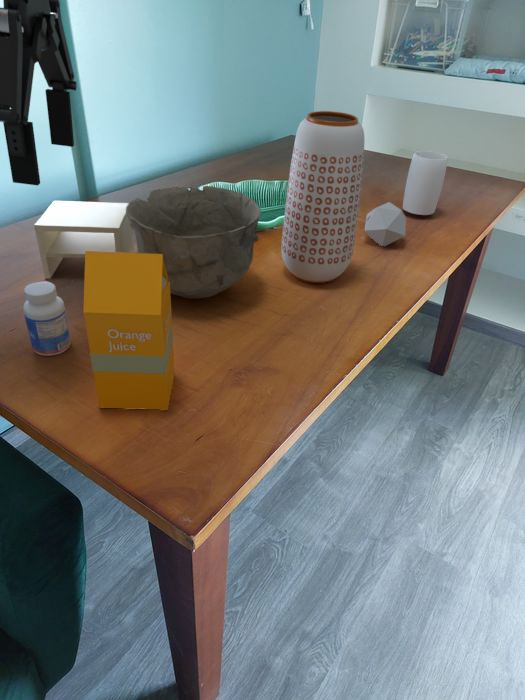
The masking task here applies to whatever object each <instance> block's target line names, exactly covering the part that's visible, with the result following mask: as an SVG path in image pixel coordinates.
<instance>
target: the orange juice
mask: <svg viewBox="0 0 525 700" xmlns="http://www.w3.org/2000/svg"><path fill="white" fill-rule="evenodd" d="M83 279H84V281H83V283H84V284H83V287H84V288H83V310H82V311H83V318H84V323H85V329H86V335H87V343H88V348H89V358H90V364H91V369H92V373H93V379H94V384H95V391H96V396H97V397H96V398H97V403H98V408H99V407H100V408H102V407H103V408H137V409H138V408H145V409H164V410H165V409H166V410H168V411H169V407H168V406H170V402H169V401H171V397H170V395H171V396H172V391H173V386H172V385H174V381H173V380H175V376H174V375H176V373H175V353H174V331H173V330H174V329H173V327H174V326H173V315H172V300H171V298H172V296H171V293H170V282H169V280H168V276H167V272H166V267H165V263H164V259H163V254H149V253H138V252H135V253H124V252H100V251H85V258H84V278H83ZM171 390H172V391H171ZM164 410H163V411H164Z"/></svg>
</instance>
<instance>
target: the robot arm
mask: <svg viewBox="0 0 525 700" xmlns="http://www.w3.org/2000/svg"><path fill="white" fill-rule="evenodd" d="M2 3H3V7H0V123H2V124H3V129H4V137H5V142H6V148H7V154H8V155H7V156H8V160H9V165H10V166H9V167H10V173H11V179H12V183H13V184H23V185H30V186H39V185H40V184H41V177H40V170H39V162H38V154H37V146H36V138H35V132H34V131H35V130H34V123H33V121H29V117H30V116H29V114H30V108H31V106H30V105H31V98H32V91H33V82H34V74H35V65H36V63H38V66H39V68H40V70H41V72H42V75H43V77H44V79H45V82H46V84H47V86H48V88H46V89H45V99H46V108H47V109H46V110H47V117H48V128H49V136H50V144H51V145H56V146H62V147H70V148H73V147H74V146H75V140H74V139H75V138H74V128H73V117H72V115H73V113H72V104H71V103H72V102H71V93H70V91H74V92H76V91H77V88H78V87H77V86H78V84H77V81H76V80H74V79H75V73H74V69H73V65H72V59H71V56H70V51H69V46H68V42H67V37H66V33H65V30H64V29H65V28H64V24H63V21H62V20H63V19H62V12H61V2H60V0H3V2H2Z"/></svg>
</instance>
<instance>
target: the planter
mask: <svg viewBox="0 0 525 700" xmlns="http://www.w3.org/2000/svg"><path fill="white" fill-rule="evenodd" d="M364 131H365V130H364V127H363V125H362V124H361V123H360V122H359V118H358V117H357V116H355V115H354V114H351V113H346V112H340V111H333V110H332V111H331V110H330V111H329V110H317V111H312V112H309V113H307V115H306V117H305V118H303V120H302V121H300V123H299V125H298V127H297V130H296V133H295V139H294V144H293V151H292V155H291V161H290V168H289V175H288V183H287V189H286V199H285V206H284V207H285V208H284V217H283V224H282V236H281V244H280V245H281V249H280V251H281V257H282V260H283V261H282V262H283V263H284V265H285V267H286V268H287V269H288V271H289V272H290V273H291V275H292V276H293V277H294V278H296V279H297V280H299V281H301V282H303V283H307V282H308V283H307V284H313V283H323V284H327V283H326V282H328V283H331V282H333V281H335V280H336V279H337V278H339V276H341V275H342V274H343V273H344V272H345V271H346V270H347V269H348V267H349V265H350V263H351V261H352V258H353V254H354V250H355V249H354V248H355V241H356V233H357V227H358V226H357V225H358V218H359V211H360V210H359V209H360V202H361V193H362V183H363V172H364V161H365V159H364V157H365V132H364ZM334 279H335V280H334ZM330 281H331V282H330Z"/></svg>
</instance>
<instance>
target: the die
mask: <svg viewBox="0 0 525 700" xmlns="http://www.w3.org/2000/svg"><path fill="white" fill-rule="evenodd" d="M406 229H407V217H406V215H405V213H404V212H403V209H400V208H399V207H398V206H396V205H394V204H393V203H391V202H390V201H388V202H386V203H383V204H381V205H379V206H377V207H375V208H373V209H372V210H370V211H369V212H368V213H366V218H365V225H364V232H365V234H366V235H367V236H368V237H369V238H370V239H371V240H372V239H373V240H372V241H373V242H374V243H376V244H377V243H378V244H379V245H378V244H377V245H378V246H380V245H381V246H384V247H386V246H388V245H390V244H392V243H394V242H396V241H397V240H400V239H403V238H404V237H405V236H406V233H407V232H406ZM381 246H380V247H381Z"/></svg>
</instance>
